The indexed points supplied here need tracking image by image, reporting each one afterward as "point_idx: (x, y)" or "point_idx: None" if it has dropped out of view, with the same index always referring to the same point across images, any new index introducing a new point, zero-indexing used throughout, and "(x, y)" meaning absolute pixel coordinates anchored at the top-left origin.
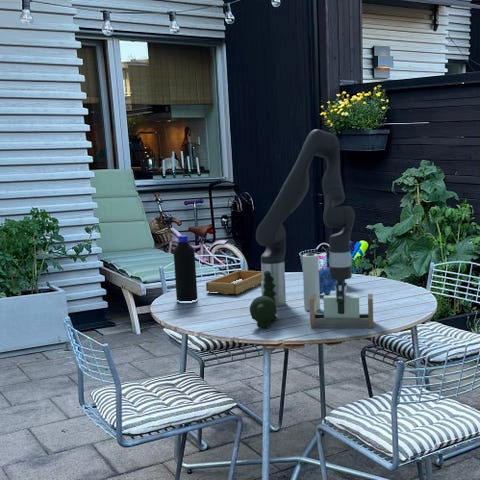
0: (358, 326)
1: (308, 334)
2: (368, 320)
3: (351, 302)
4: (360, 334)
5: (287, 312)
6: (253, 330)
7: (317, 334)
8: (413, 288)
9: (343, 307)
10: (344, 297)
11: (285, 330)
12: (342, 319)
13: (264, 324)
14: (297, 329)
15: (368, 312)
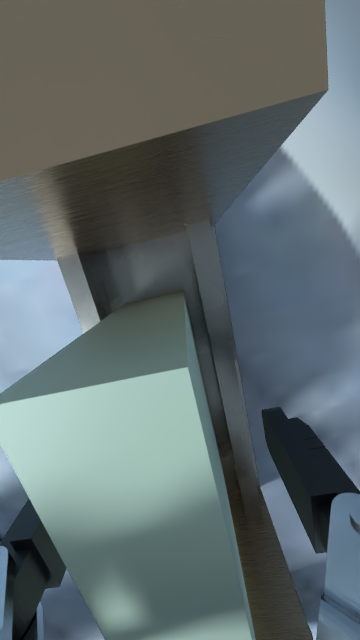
0: (224, 287)
1: (356, 472)
2: (218, 218)
3: (207, 424)
4: (344, 245)
5: (59, 601)
6: (316, 626)
7: (355, 441)
8: None
9: (306, 452)
10: (338, 596)
11: (305, 552)
12: (239, 391)
13: (312, 636)
14: (286, 522)
15: (232, 198)
